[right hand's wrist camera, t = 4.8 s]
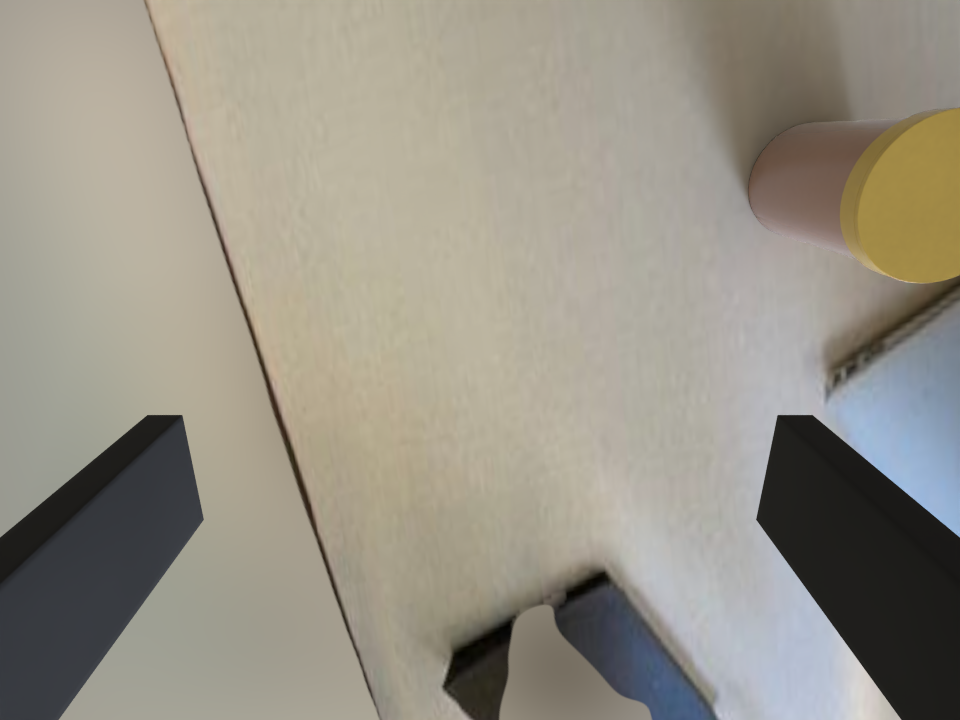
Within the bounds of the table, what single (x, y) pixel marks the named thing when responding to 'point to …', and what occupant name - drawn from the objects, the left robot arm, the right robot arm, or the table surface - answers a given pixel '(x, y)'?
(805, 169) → the jar
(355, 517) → the table surface
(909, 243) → the lid
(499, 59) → the table surface
